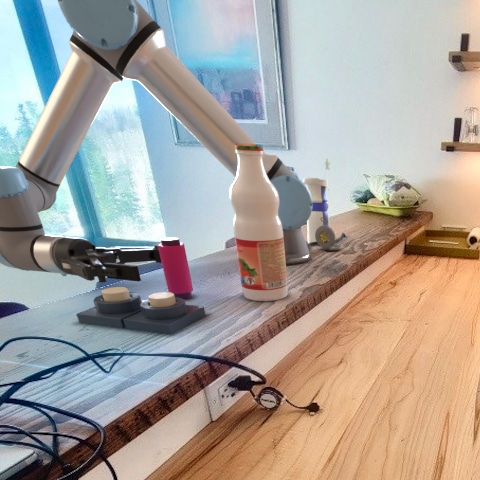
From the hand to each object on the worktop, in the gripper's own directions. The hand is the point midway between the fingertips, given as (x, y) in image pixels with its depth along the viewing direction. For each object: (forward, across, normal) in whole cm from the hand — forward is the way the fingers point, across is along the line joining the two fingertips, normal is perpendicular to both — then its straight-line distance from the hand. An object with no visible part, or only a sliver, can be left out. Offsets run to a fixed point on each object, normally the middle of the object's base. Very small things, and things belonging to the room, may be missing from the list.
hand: (162, 265), depth 85 cm
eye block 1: (0, +13, -6) cm, 14 cm away
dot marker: (+3, 0, -6) cm, 7 cm away
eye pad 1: (0, +13, -3) cm, 13 cm away
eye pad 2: (+9, +13, -3) cm, 16 cm away
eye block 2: (+9, +13, -6) cm, 17 cm away
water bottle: (+8, -67, -6) cm, 68 cm away
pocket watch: (+15, -57, -6) cm, 59 cm away
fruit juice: (+18, -7, -6) cm, 20 cm away
